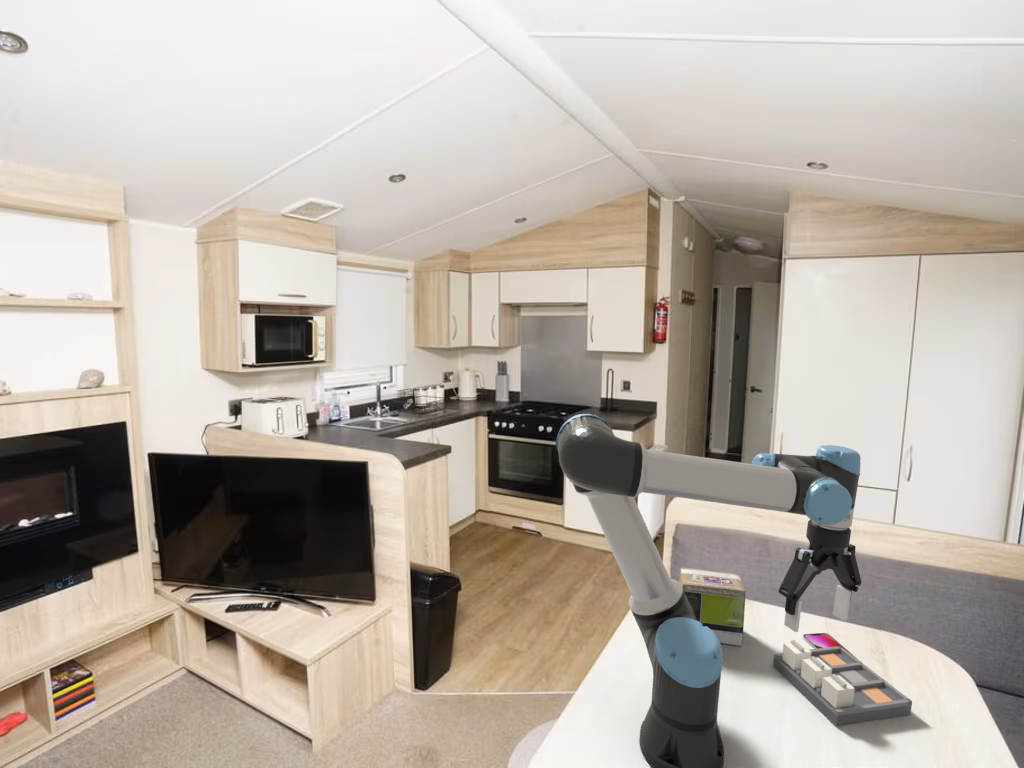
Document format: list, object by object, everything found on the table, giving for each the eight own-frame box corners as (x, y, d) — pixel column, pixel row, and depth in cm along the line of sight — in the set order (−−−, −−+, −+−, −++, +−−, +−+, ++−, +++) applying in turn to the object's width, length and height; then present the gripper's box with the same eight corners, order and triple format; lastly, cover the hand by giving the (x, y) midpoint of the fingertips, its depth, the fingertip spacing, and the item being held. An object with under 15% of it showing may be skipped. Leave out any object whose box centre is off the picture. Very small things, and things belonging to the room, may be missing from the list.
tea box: (735, 625, 145) (740, 572, 143) (742, 648, 135) (747, 591, 133) (676, 617, 148) (680, 565, 146) (678, 638, 139) (682, 583, 137)
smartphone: (842, 673, 126) (800, 634, 141) (842, 677, 126) (800, 637, 141) (872, 671, 127) (827, 632, 142) (871, 674, 127) (826, 635, 142)
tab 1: (794, 670, 123) (796, 650, 122) (782, 659, 127) (784, 640, 126) (809, 668, 124) (811, 648, 123) (797, 657, 128) (799, 638, 127)
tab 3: (835, 708, 111) (838, 686, 111) (820, 695, 115) (823, 673, 115) (852, 706, 112) (855, 684, 112) (837, 692, 116) (839, 671, 115)
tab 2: (813, 688, 117) (816, 667, 117) (800, 676, 121) (802, 656, 120) (830, 686, 118) (832, 665, 117) (816, 674, 122) (818, 654, 121)
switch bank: (835, 726, 110) (837, 712, 110) (772, 666, 128) (774, 653, 128) (910, 715, 114) (912, 701, 113) (838, 658, 132) (840, 646, 132)
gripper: (798, 537, 101) (785, 643, 104) (891, 524, 110) (875, 623, 113) (766, 522, 108) (754, 622, 111) (856, 511, 117) (842, 604, 120)
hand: (815, 622), depth 112 cm, fingers open, 13 cm apart
